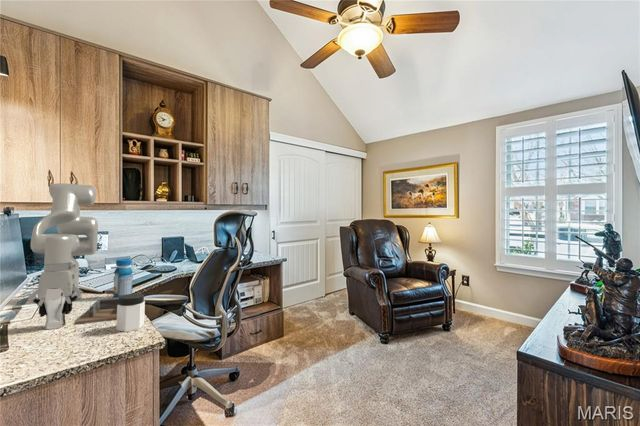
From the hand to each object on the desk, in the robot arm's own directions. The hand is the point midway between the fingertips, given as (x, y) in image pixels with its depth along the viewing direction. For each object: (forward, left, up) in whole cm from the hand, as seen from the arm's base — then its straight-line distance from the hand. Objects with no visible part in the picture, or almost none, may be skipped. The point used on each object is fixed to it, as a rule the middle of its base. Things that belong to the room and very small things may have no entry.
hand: (55, 314), depth 108 cm
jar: (+12, +26, -5) cm, 29 cm away
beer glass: (0, 0, -5) cm, 5 cm away
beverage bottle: (-39, +15, -5) cm, 42 cm away
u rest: (-10, +15, -5) cm, 19 cm away
